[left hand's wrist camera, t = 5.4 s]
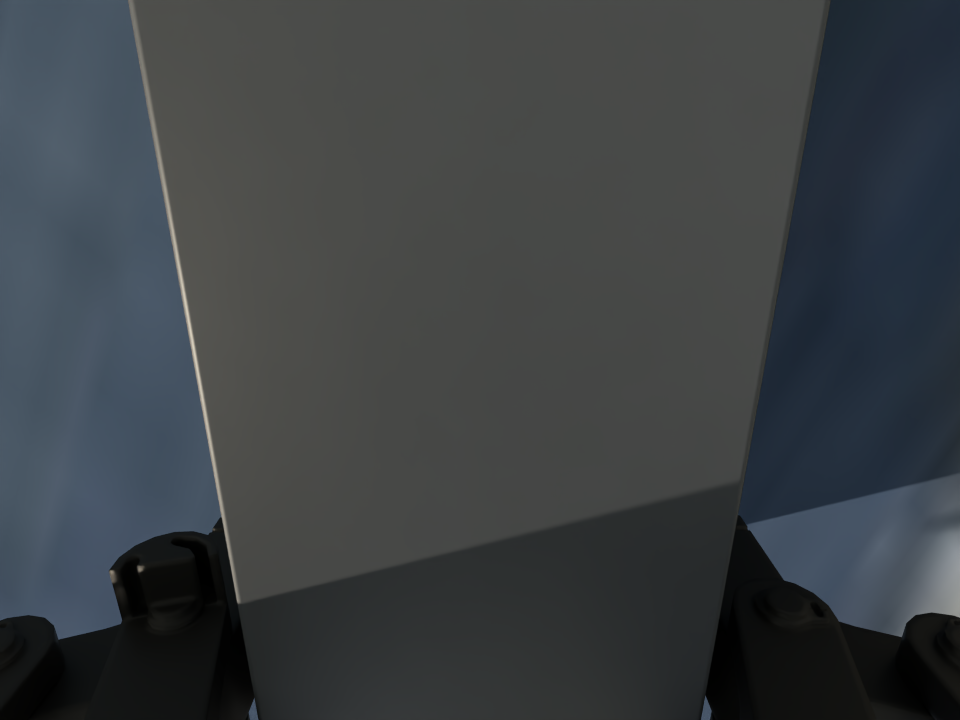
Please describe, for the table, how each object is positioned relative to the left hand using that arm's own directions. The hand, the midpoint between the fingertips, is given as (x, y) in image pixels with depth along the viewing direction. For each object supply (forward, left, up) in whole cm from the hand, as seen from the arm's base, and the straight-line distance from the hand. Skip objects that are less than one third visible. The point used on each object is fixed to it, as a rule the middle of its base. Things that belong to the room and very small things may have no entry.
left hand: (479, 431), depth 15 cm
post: (+31, +14, -1) cm, 34 cm away
